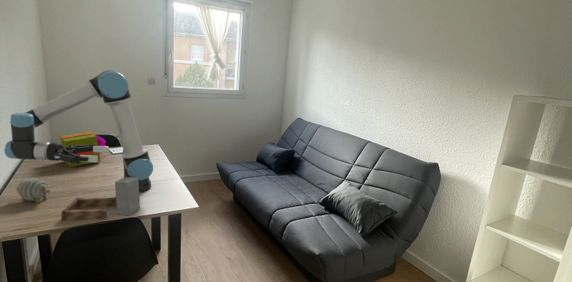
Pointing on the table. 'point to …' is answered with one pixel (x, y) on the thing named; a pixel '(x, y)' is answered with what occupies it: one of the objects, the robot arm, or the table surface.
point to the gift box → (82, 139)
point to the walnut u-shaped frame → (75, 214)
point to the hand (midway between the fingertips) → (103, 154)
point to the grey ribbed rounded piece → (32, 190)
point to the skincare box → (127, 195)
